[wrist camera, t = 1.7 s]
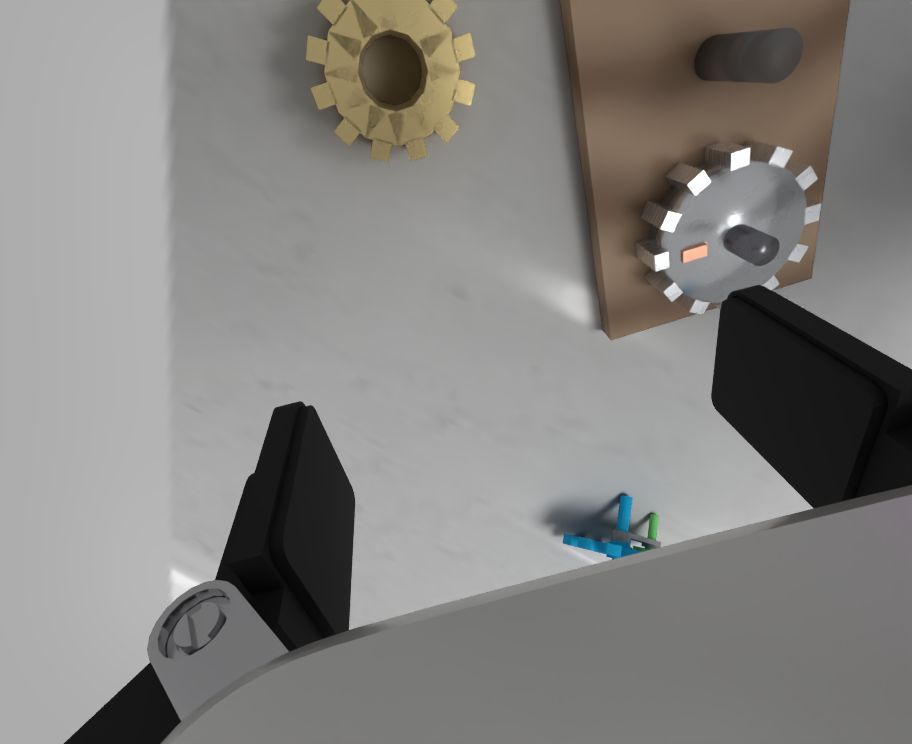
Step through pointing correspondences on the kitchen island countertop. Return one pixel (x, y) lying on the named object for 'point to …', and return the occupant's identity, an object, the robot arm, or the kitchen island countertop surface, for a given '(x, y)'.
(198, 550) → the kitchen island countertop surface
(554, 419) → the kitchen island countertop surface
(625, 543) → the gear
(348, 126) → the brass gear
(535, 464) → the kitchen island countertop surface
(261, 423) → the kitchen island countertop surface
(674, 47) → the gear board
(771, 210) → the gear
